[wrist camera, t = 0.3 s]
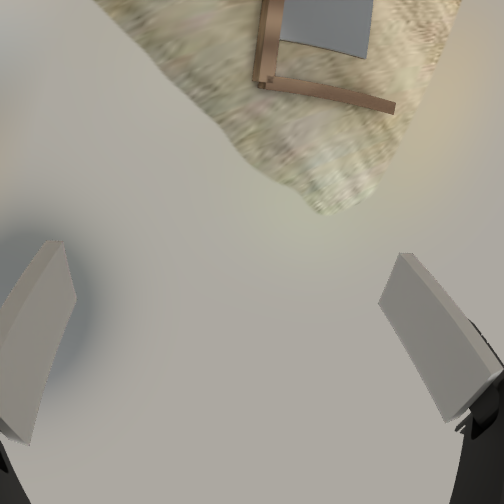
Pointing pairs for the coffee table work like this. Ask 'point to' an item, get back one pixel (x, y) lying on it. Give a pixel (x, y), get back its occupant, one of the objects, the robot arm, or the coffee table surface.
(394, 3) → the coffee table surface
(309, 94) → the wooden corner frame
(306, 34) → the coaster
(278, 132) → the coffee table surface
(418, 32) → the coffee table surface
